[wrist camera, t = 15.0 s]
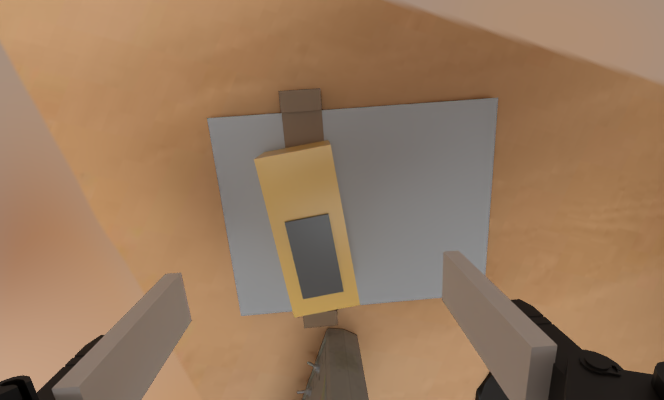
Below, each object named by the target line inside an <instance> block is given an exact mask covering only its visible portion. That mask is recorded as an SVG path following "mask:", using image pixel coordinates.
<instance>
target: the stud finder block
mask: <svg viewBox="0 0 664 400" xmlns="http://www.w3.org/2000/svg"><path fill="white" fill-rule="evenodd" d="M254 162H255V166H256V170H257V174H258V178H259V182H260V186H261V190H262V194H263V197H264V201H265V205H266V209H267V213H268V217H269V221H270V225H271V229H272V233H273V237H274V241H275V244H276V248H277V252H278V256H279V260H280V264H281V268H282V272H283V276H284V280H285V284H286V288H287V291H288V295H289V299H290V303H291V307H292V311H293V315H294V318H295V317H300V316H305V315H311V314H316V313H321V312H326V311H331V310H336V309H342V308H347V307H352V306H357V305H360V301H359V296H358V290H357V285H356V280H355V274H354V269H353V263H352V258H351V252H350V247H349V242H348V236H347V231H346V225H345V220H344V214H343V209H342V203H341V198H340V193H339V187H338V182H337V176H336V171H335V165H334V160H333V154H332V149H331V144H330V142H329V141H328V140H325V141H320V142H315V143H310V144H304V145H299V146H294V147H289V148H284V149H278V150H273V151H268V152H264V153H262V154H261V155H259V156H258V157H256V158H255V159H254Z"/></svg>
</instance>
